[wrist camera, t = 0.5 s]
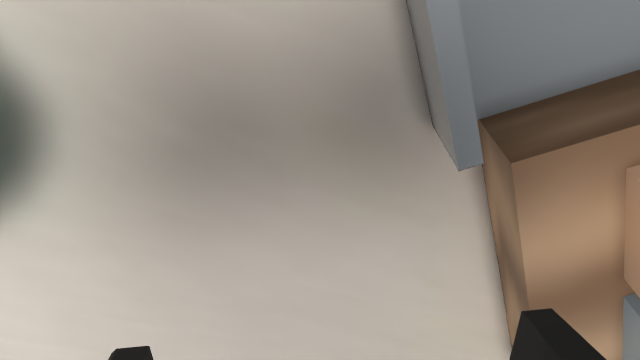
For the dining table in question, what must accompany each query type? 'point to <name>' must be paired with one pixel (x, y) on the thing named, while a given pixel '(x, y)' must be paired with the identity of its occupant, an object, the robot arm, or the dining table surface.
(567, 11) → the tray
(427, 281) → the dining table surface
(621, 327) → the bench board
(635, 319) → the pale blue block
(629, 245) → the tile sand
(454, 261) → the dining table surface
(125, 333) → the dining table surface
